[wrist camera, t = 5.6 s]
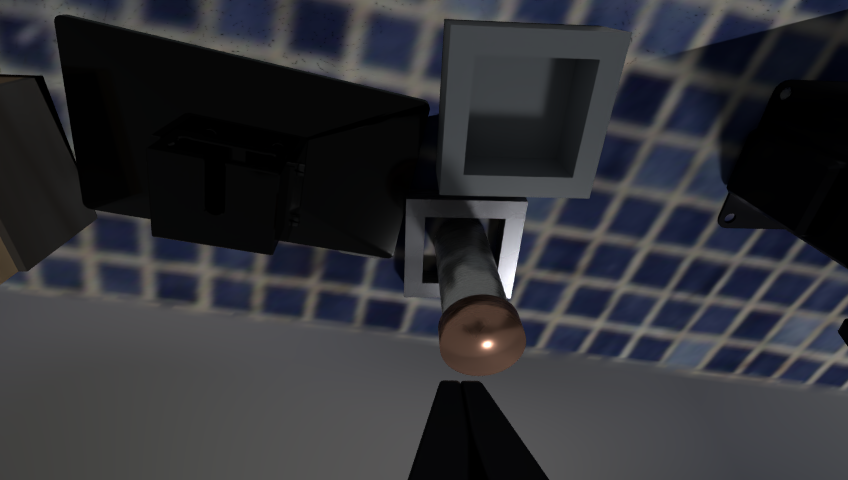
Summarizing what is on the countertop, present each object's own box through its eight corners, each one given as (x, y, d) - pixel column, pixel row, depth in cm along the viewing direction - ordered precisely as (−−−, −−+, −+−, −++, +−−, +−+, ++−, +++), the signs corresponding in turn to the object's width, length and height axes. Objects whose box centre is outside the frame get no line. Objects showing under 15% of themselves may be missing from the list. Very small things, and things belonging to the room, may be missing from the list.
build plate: (430, 100, 16) (446, 138, 12) (391, 258, 20) (393, 328, 16) (58, 11, 14) (-71, 24, 10) (89, 210, 17) (2, 278, 13)
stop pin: (493, 213, 19) (531, 311, 13) (487, 265, 21) (520, 375, 15) (430, 213, 19) (441, 312, 13) (428, 266, 20) (438, 376, 15)
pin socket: (522, 191, 19) (527, 201, 18) (506, 285, 21) (510, 298, 20) (406, 189, 18) (406, 199, 18) (404, 284, 21) (404, 297, 20)
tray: (600, 26, 15) (631, 32, 13) (567, 173, 18) (589, 198, 16) (444, 19, 15) (450, 24, 13) (435, 169, 18) (439, 194, 16)
